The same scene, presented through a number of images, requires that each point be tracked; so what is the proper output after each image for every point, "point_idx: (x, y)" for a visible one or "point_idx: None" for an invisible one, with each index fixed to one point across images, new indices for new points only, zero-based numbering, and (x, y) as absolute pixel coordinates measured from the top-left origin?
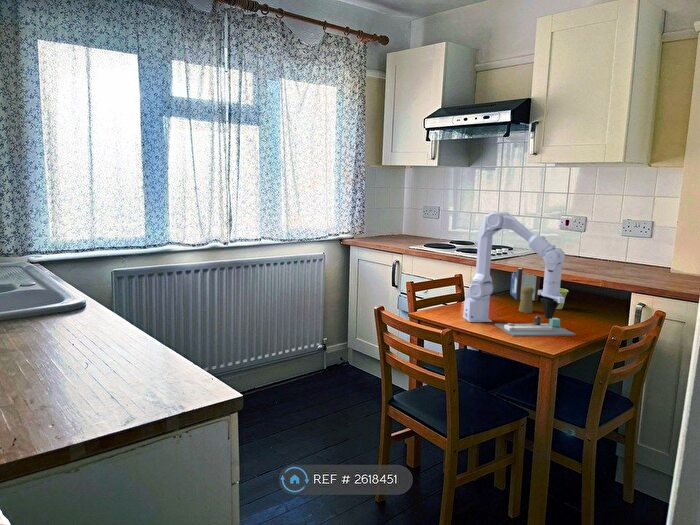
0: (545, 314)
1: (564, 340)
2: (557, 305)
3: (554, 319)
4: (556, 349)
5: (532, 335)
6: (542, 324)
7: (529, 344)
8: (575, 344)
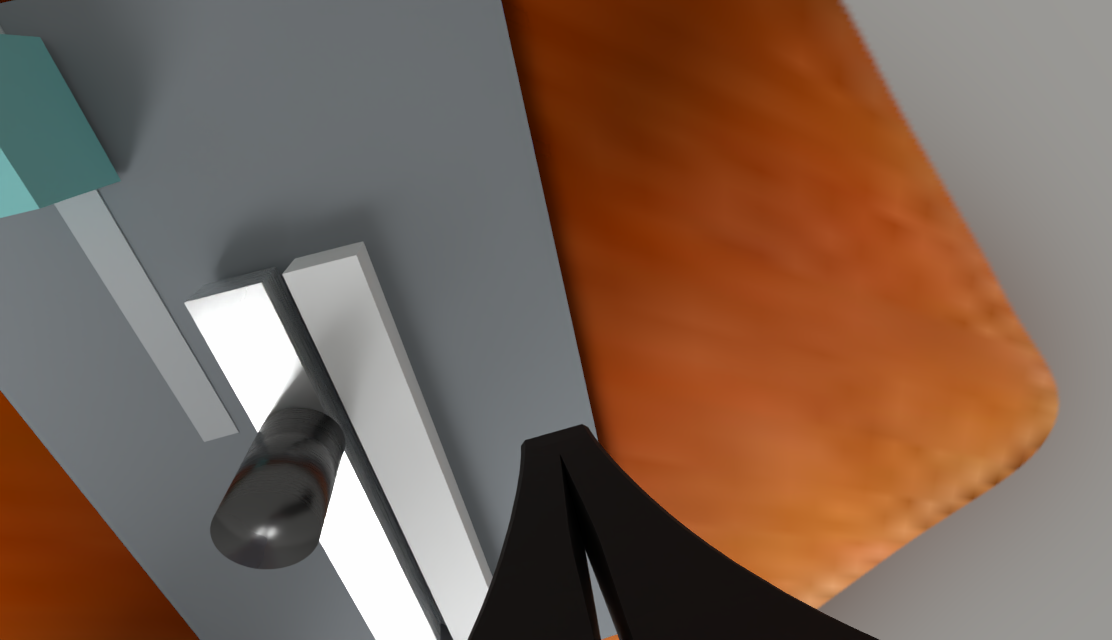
0: (588, 568)
1: (729, 193)
2: (798, 610)
3: (13, 177)
4: (985, 362)
5: None
6: (269, 378)
7: (841, 528)
8: (878, 112)
